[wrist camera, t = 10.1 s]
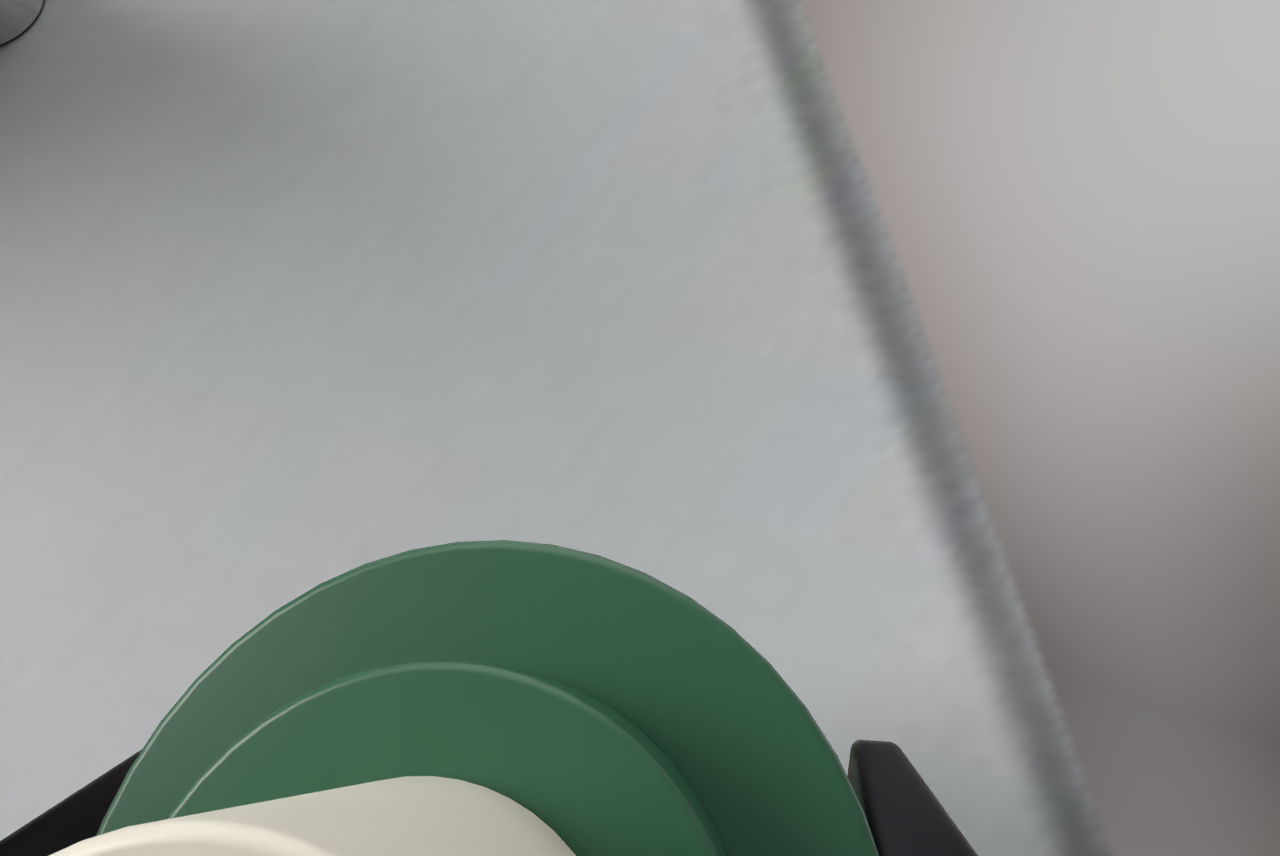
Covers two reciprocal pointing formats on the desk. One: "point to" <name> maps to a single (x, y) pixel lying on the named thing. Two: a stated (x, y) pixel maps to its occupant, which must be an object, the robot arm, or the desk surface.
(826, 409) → the desk surface
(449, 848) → the bottle
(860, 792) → the robot arm
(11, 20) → the hip flask
